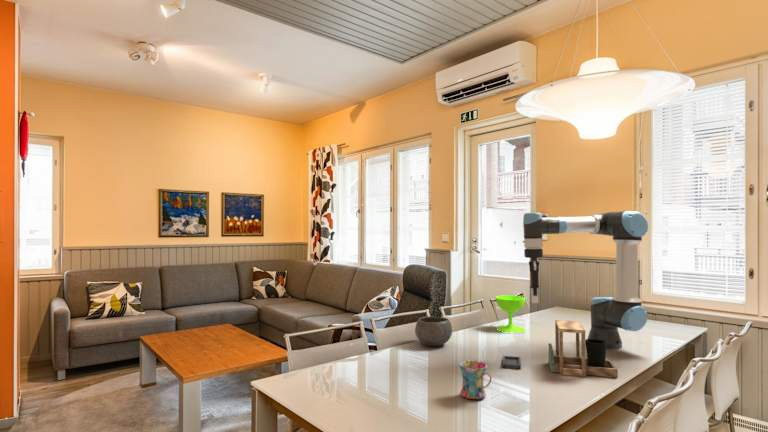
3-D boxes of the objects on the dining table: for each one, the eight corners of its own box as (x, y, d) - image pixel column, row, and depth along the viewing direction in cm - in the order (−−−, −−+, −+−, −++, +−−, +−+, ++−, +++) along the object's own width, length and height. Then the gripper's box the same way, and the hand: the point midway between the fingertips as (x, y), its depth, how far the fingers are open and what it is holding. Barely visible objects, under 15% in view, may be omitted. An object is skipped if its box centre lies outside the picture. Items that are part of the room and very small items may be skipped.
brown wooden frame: (579, 364, 179) (578, 321, 180) (585, 377, 164) (585, 330, 164) (555, 362, 182) (555, 320, 182) (559, 374, 166) (559, 328, 167)
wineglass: (494, 326, 248) (493, 295, 248) (522, 327, 245) (522, 295, 246) (497, 333, 232) (497, 299, 232) (528, 334, 230) (527, 300, 230)
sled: (610, 367, 174) (610, 347, 174) (617, 377, 162) (617, 356, 163) (548, 362, 181) (548, 343, 181) (551, 371, 169) (551, 351, 169)
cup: (606, 370, 172) (606, 339, 172) (608, 376, 165) (607, 344, 165) (585, 367, 175) (584, 338, 175) (586, 373, 168) (585, 342, 168)
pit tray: (520, 360, 184) (520, 357, 184) (520, 369, 172) (520, 365, 172) (503, 359, 186) (503, 355, 186) (502, 367, 174) (502, 364, 174)
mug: (453, 395, 146) (453, 364, 146) (470, 388, 152) (470, 358, 152) (482, 406, 136) (482, 373, 137) (499, 399, 142) (499, 367, 143)
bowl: (410, 347, 204) (410, 320, 204) (421, 338, 220) (421, 313, 221) (447, 351, 197) (447, 324, 197) (455, 342, 214) (455, 316, 214)
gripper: (523, 247, 193) (525, 300, 192) (525, 249, 180) (527, 305, 180) (541, 247, 191) (542, 300, 190) (544, 249, 178) (546, 305, 178)
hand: (535, 302), depth 185 cm, fingers closed
